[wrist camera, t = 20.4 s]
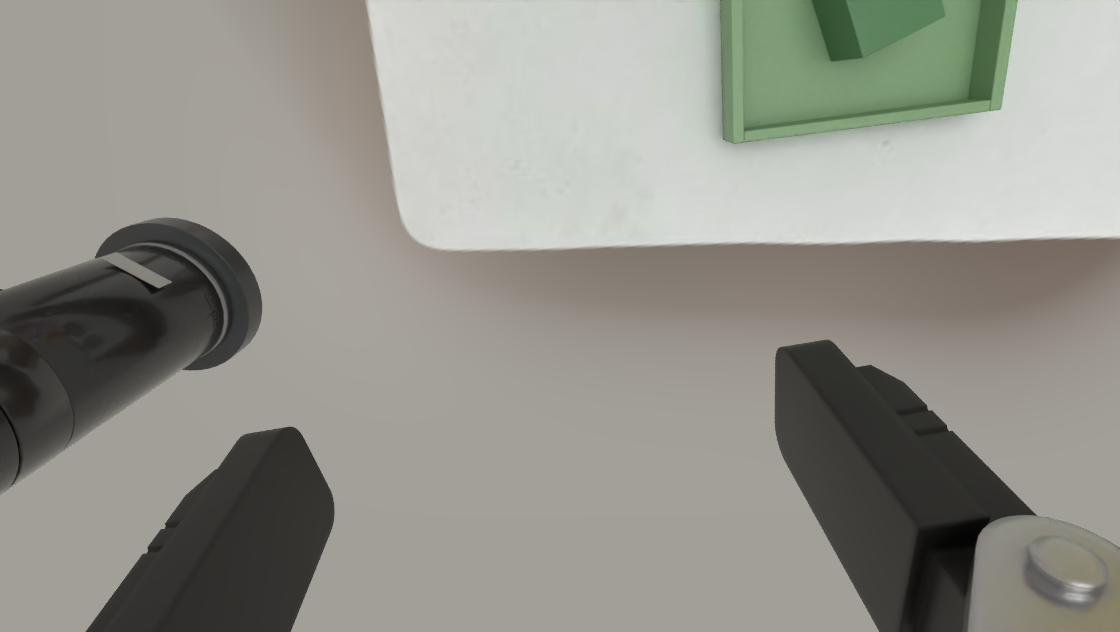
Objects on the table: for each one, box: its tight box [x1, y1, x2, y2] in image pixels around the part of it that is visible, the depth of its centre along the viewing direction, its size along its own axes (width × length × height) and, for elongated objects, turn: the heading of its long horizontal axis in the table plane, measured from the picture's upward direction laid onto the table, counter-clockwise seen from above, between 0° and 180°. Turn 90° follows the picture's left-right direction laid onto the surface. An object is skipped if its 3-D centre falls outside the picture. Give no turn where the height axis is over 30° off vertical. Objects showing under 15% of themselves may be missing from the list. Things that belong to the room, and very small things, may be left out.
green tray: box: [720, 0, 1018, 144], centre depth 30 cm, size 14×12×3 cm
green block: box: [812, 0, 945, 62], centre depth 29 cm, size 4×4×4 cm
